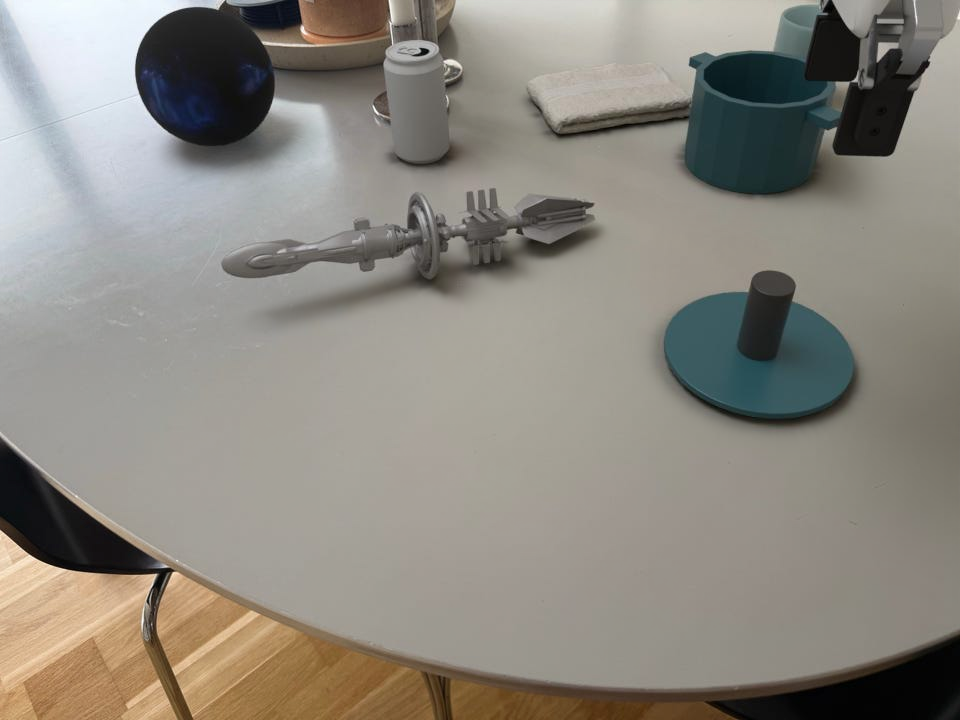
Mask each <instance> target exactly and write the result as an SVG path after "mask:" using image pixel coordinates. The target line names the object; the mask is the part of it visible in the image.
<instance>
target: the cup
mask: <svg viewBox="0 0 960 720" xmlns="http://www.w3.org/2000/svg"><path fill="white" fill-rule="evenodd" d="M819 6H820V4H801V5H795V6H791V7H788V8H786V9H784V10H783V11H782V13H781V14H780V16H779V17H780V18H779V21H778V26H777V30H776V36H775V40H774V44H773V49H772V51H775V52H780V53H785V54H790V55H795V56H800V57H803V58H805V59H806V58H807V54H808V50H809V46H810V42H811V37H812V33H813V29H814V25H815V21H816V17H817V15H827V14H828V13H820V11H819ZM836 83H837V82H835V84H836Z"/></svg>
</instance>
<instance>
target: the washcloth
mask: <svg viewBox="0 0 960 720" xmlns="http://www.w3.org/2000/svg"><path fill="white" fill-rule="evenodd" d="M525 90H526V92H527V94H528V96H529V97H530V99H531V101H532V102H534V105H536V106H537V107H539V109H540V111H541V112H542V116H543V118H544V119H545V121H546V123H547V124H548V125H549V126H550V128H551V129H552V130H553V131H554V132H555V133H556V134H559V135H562V134H564V135H565V134H577V133H581V132H588V131H596V130H600V129H605V128H610V127H615V126H622V125H625V124H626V125H627V124H633V125H634V124H642V123H643V124H644V123H648V122H659V121H661V122H662V121H665V120H669V119H670V120H671V119H672V118H680V119H683V118H684V117H690V110H691V103H692V96H693V93H692V94H689V93H688V92H687V91H686V90H684V89H683V87H682V85H680V84H679V83H678V82H677V81H676V80H675V79H674V78H673V76H672V75H671V74H670V72H668V71H667V70H666V69H665V68H664V67H663V66H659V65H658V64H656V63H655V62H651V61H648V62H645V63H640V64H639V63H638V64H621V63H618V62H617V61H615V62H610V63H608V64H606V65H600V66H595V67H585V68H576V69H569V70H566V71H560V72H554V73H547V74H545V73H544V74H540V75H538V76H535V77H533V78H532V79H530V80H528V81H527V83H526V85H525Z"/></svg>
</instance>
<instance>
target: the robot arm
mask: <svg viewBox="0 0 960 720" xmlns="http://www.w3.org/2000/svg"><path fill="white" fill-rule="evenodd" d="M819 5H820V6H819V11H820V13H828V14H827V15H817V17H816V21H815V25H814V29H813V33H812V37H811V42H810V46H809V50H808V54H807V58H806V63H805V67H804V71H803V75H804V77H805V79H806V80H807V81H825V82H836V83H849V84H848V87H847V91H846V94H845V98H844V101H843V104H842V109H841V111H840V112H841V115H840V119H839V122H838V126H837V127H836V130H835V134H834V137H833V140H832V143H831V148H832V150H833V153H834V154H835V155H836V156H845V157H846V156H847V157H876V158H877V157H883V158H886V157H887V158H888V157H890V156H892V155H893V154H894V152H895V151H896V149H897V146H898V142H899V139H900V136H901V133H902V130H903V127H904V124H905V121H906V118H907V115H908V113H909V109H910V106H911V103H912V101H913V98H914V95H915V92H917V91H918V90H919V88H920V85H921V82H922V77H923V74H925V72H926V70H927V69H928V68H929V67H930V64H931V61H930V59H931V54H932V53H933V51H934V50H935V48H936V47H937V45H938V43H939V41H941V40H942V39H945V38H946V37H947V36H948V35H950V33H951V32H952V31H953V29H954V28H955V25H956V23H957V20H958V17H959V14H960V0H819ZM878 20H903V23H896V22H895V23H888V22H887V23H885V22H881V23H880V22H878ZM879 43H882V44H883V43H885V44H887V43H889V44H891V43H892V44H893V43H894V44H898V46H897V47H896V48H895V47H893V48H889V49H888V50H886V52H885V54H884V55H883V56H882V57H881V58H880V59H879V60H878V53H879ZM856 78H857V81H855V79H856Z"/></svg>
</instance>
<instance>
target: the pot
mask: <svg viewBox="0 0 960 720" xmlns="http://www.w3.org/2000/svg"><path fill="white" fill-rule="evenodd" d="M805 63H806V59H805V58H803V57H800V56H795V55H790V54H785V53H780V52H775V51H773V50H771V51H770V50H754V49H753V50H752V49H751V50H741V51H732V52H724V53H722V54H718V55H713V54H711V53H709V52H707V51H704V52H702V53H699V54H696V55H693V56H689V60H688V67H690V68H692V69H695V76H694V81H693V82H694V83H693V89H692V95H693V96H692V99H691V104H690V108H691V110H690V115H689V116H688V125H687V132H686V139H685V144H684V145H685V146H684V155H683V161H684V164H685V166H686V167H687V169H688V170H689V171H690V173H691V174H692V175H694V176H695V177H696V178H698V179H700V180H701V181H703V182H704V183H707V184H709V185H711V186H714V187H716V188H720V189H723V190H726V191H731V192H736V193H743V194H753V195H754V194H755V195H759V194H760V195H761V194H762V195H763V194H776V193H782V192H785V191H790V190H792V189H795V188H797V187H799V186H801V185H803V184H804V183H805V182H807V181H808V179H809V178H810V177H811V175H812V174H813V171H814V169H816V164H817V161H818V157H819V153H820V151H821V145H822V142H823V138H824V134H825V131H830V130H833V129H835V128H837V126H838V122H839V119H840V115H841V112H842V111H841V110H838V109H835V108H834V107H832V104H833V100H834V97H835V93H836V89H837V84H836V83H835V82H825V81H807V80H806V79H805V77H804V75H803V71H804V67H805Z"/></svg>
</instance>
